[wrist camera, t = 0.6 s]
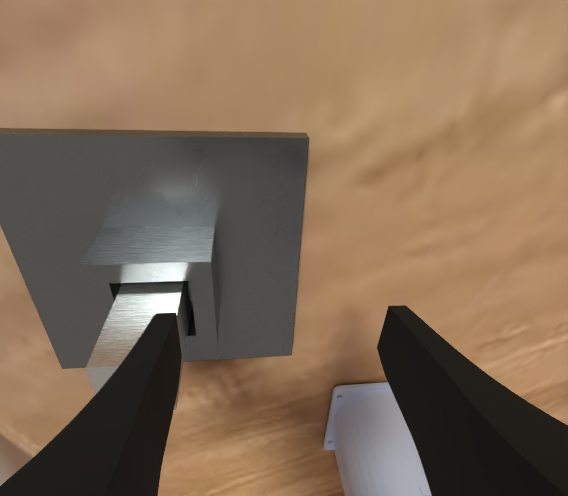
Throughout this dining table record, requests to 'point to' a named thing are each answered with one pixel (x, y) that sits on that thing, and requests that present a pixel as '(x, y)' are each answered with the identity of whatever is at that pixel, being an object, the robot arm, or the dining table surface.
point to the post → (137, 324)
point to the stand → (158, 230)
